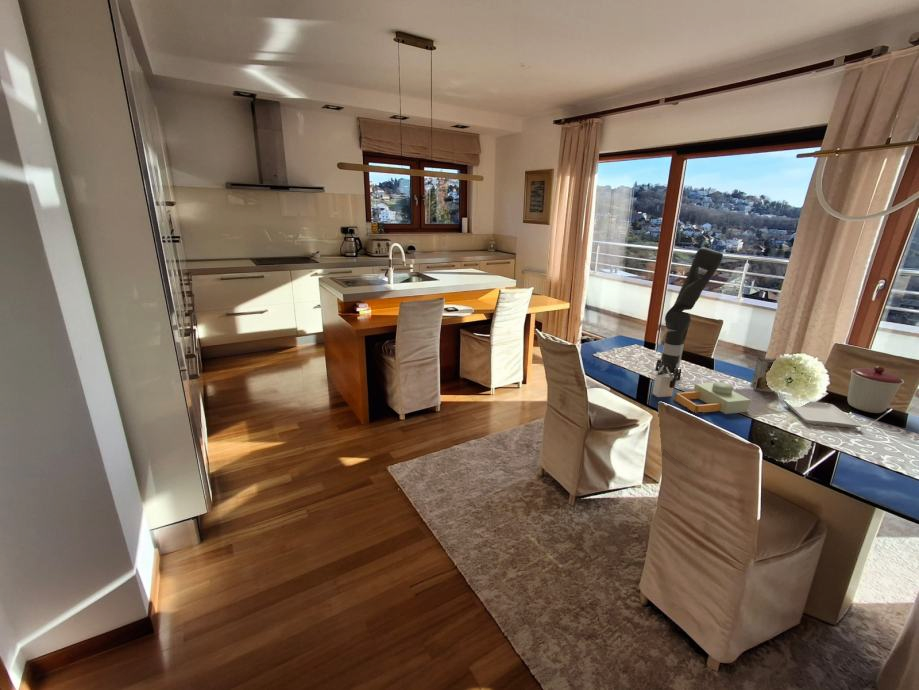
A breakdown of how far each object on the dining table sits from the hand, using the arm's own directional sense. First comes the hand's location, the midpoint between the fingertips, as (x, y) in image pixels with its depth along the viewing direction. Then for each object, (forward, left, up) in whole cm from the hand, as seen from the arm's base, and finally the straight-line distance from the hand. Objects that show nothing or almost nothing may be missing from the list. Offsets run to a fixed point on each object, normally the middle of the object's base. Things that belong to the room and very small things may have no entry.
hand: (665, 384), depth 207 cm
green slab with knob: (+12, +14, -6) cm, 20 cm away
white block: (-1, 0, -6) cm, 6 cm away
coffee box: (+2, +57, -6) cm, 57 cm away
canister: (+29, +87, -6) cm, 92 cm away
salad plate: (+32, +55, -7) cm, 64 cm away
